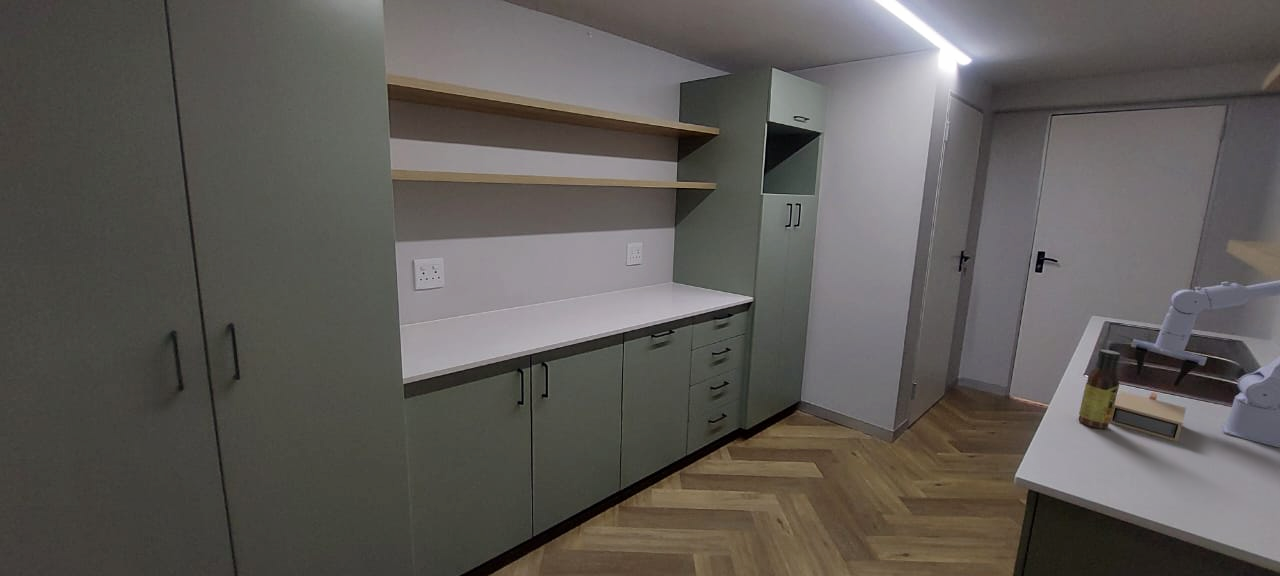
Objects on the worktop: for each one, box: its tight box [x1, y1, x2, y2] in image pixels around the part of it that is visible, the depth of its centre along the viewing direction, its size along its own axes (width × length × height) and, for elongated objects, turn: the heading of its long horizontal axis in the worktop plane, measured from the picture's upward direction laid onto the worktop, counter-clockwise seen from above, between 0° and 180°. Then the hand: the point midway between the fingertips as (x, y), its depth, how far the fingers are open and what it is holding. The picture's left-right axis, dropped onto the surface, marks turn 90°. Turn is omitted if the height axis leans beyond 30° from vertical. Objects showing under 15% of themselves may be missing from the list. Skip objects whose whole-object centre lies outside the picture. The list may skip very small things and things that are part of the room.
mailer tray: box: [1114, 392, 1176, 437], centre depth 140 cm, size 20×11×4 cm, turn 132°
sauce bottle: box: [1078, 349, 1121, 429], centre depth 135 cm, size 7×6×20 cm
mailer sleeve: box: [1109, 391, 1187, 443], centre depth 138 cm, size 15×13×5 cm
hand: (1156, 379), depth 144 cm, fingers open, 7 cm apart
